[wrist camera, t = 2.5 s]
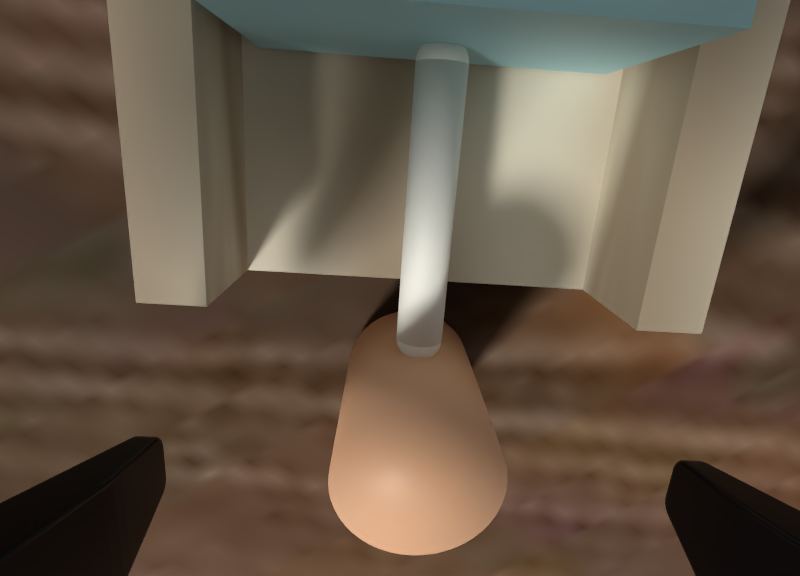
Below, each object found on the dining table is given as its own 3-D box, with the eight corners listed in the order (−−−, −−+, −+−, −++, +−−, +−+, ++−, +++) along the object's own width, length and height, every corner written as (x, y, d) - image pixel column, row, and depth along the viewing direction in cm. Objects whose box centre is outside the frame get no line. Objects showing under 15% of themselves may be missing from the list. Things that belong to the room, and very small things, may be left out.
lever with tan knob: (626, -147, 9) (867, -440, 5) (531, 423, 13) (612, 583, 8) (268, -180, 9) (136, -530, 4) (274, 411, 13) (206, 569, 8)
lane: (717, -226, 9) (908, -440, 6) (614, 280, 12) (701, 334, 9) (182, -280, 9) (53, -543, 5) (209, 256, 12) (136, 302, 8)
